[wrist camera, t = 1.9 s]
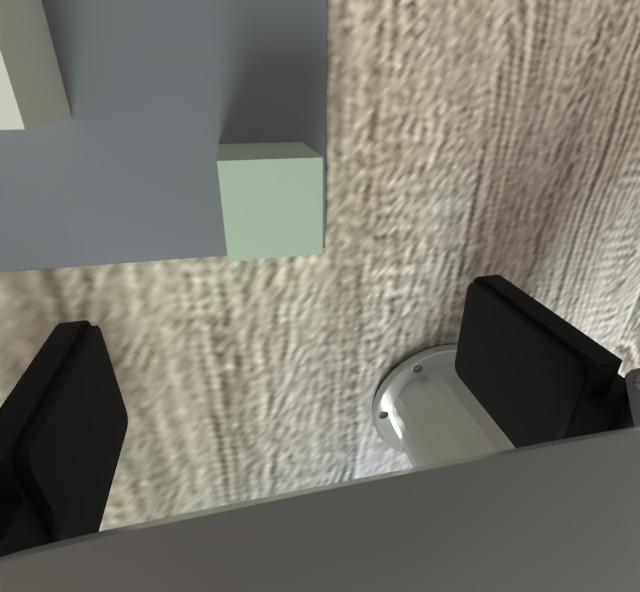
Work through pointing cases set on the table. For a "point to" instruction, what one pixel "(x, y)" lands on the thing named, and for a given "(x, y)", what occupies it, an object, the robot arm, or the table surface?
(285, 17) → the board
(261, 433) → the table surface
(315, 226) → the sage block
